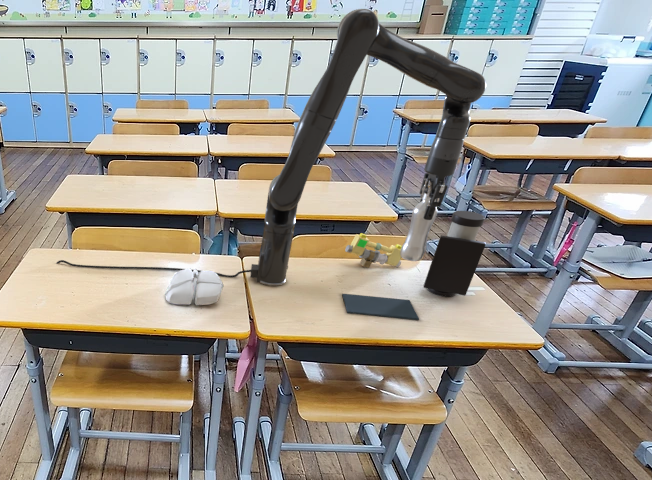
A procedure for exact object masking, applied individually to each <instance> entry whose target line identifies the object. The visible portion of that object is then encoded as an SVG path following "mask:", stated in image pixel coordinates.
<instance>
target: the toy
mask: <svg viewBox="0 0 652 480" xmlns="http://www.w3.org/2000/svg"><path fill="white" fill-rule="evenodd" d="M402 246H403V245H401V244H398V243H396V244H395V245H393V244H391V245H390V246H386V245H384V244H383V245H382V244H381V243H380V242H373V241H370V239H369V238H368V237H367V234H365V233H362V232H361V233H359V234H357V233H356V234H355V235H354V238H353V239H352V241H351V243H350V244H348V245H346V246H345V250H344V251H345V252H346V253H349V254H352V255H355V256H358V258H360V259H361V260H360V261H359V264H360V265H361V266H362V267H365V268H367V269H370V267H371V266H372V264H376V263H379V264H380V265H389V266H392V267H395V268H400V267H401V265H402V259H403V258H402V257H401V255H400V251H401V248H402ZM368 247H369V248H371V249H367V248H368ZM372 249H374V250H375V251H374V250H372ZM381 252H385V253H381Z"/></svg>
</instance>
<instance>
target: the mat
mask: <svg viewBox="0 0 652 480" xmlns="http://www.w3.org/2000/svg"><path fill="white" fill-rule="evenodd" d="M341 297H342V299H343V303H344V307H345V311H346V313H347V314H353V315H363V316H370V317H371V316H372V317H381V318H391V319H400V320H401V319H402V320H412V321H419V320H420V318H419V316H418V314H417V312H416V310H415V308H414V306H413V304H412V302H411V301H410V299H403V298H395V297H394V298H393V297H383V296H371V295H361V294H351V293H342V294H341Z"/></svg>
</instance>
